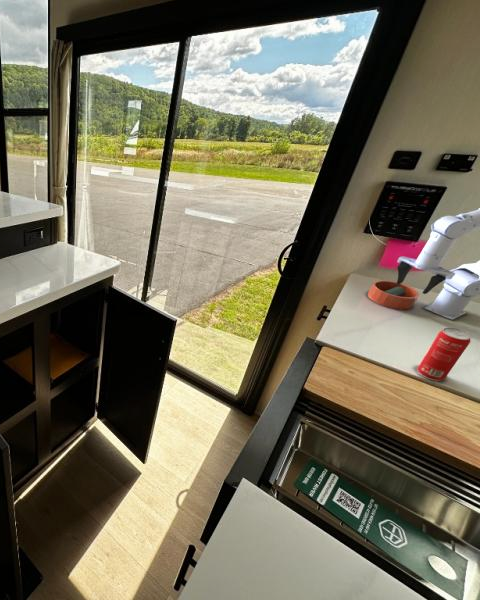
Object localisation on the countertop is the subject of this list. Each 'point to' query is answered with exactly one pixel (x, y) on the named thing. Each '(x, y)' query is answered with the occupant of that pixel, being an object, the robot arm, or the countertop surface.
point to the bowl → (389, 300)
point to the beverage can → (443, 353)
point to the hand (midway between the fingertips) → (411, 287)
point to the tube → (396, 291)
